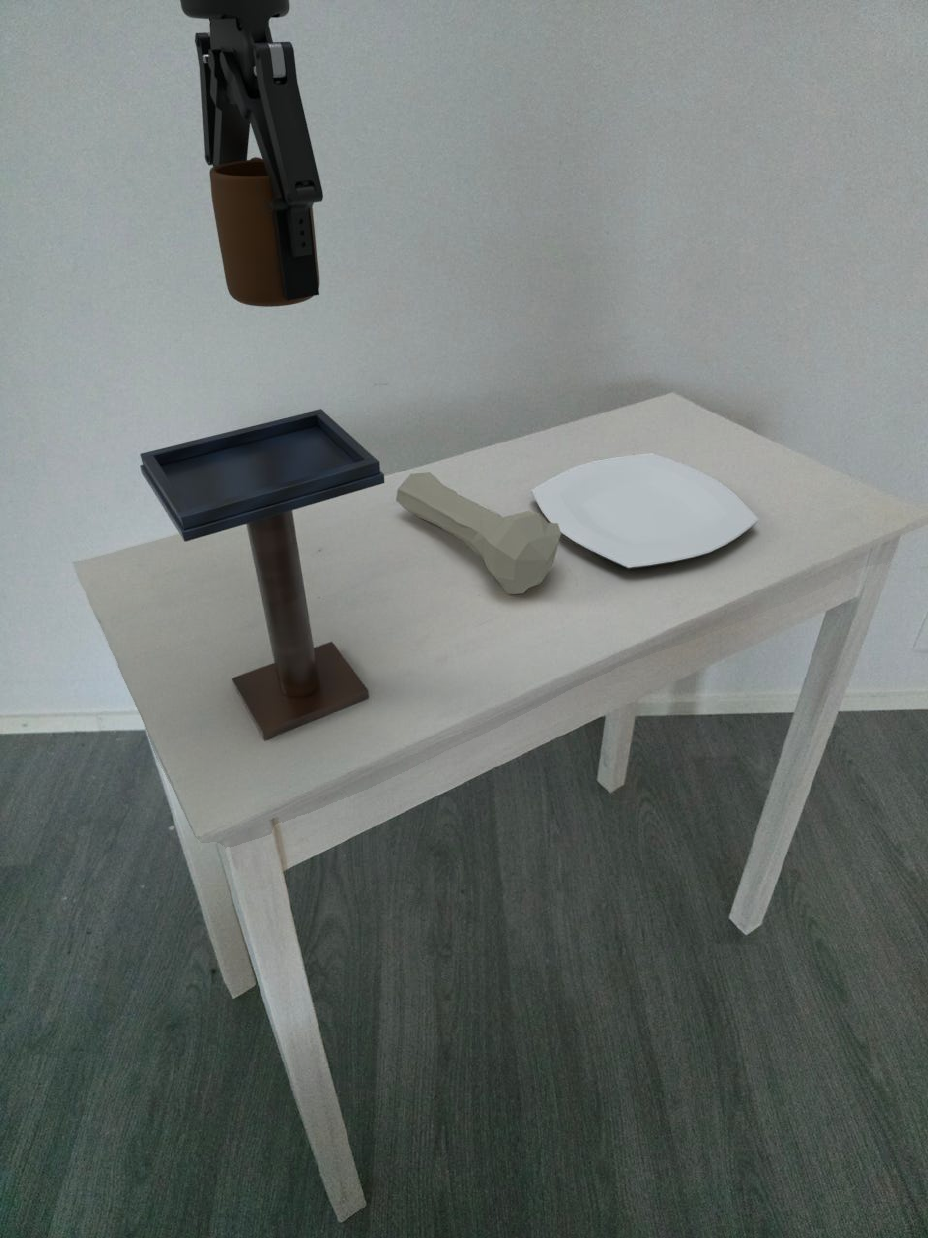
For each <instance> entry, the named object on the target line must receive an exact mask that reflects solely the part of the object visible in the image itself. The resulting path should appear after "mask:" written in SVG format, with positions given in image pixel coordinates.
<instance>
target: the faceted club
mask: <svg viewBox="0 0 928 1238" xmlns="http://www.w3.org/2000/svg"><path fill="white" fill-rule="evenodd" d="M396 502H397V503H398V504H399V505H401V506H402V508H403V509H405V510H407V511H408V512H410V513H411V514H412V515H414V516H415V517H417V518H419V519H422V520H425V521H426V522H429V523H430V524H431V523H432V524H434V525H435V526H437V527H439V528H440V529H442V530H444V531H446V532H448V533H449V534H451V535H452V536H454V537H456V538H457V539H459V540H461V541H462V542H463V543H464V544H466V546H468V547H469V548H470V549H471V550H473V551H474V552H475V553H476V554H477V555H479V557H481V559H483V560H484V562H485V565H486V568H487V569H488V571H489V572H490V574H491V575H492V576H493V578H495V580H497V582H498V584H499V586H500V587H501V588H502V589H503V590H504V592H505V593H506V594H507V595H517V594H523V593H525V592H526V591H527V590H528V589H530V588H532V587H535V586H538V585H540V584H541V583H542V582H543V580H544V579H545V577H546V576H547V575H548V573H549V572H550V570H551V569H552V567H553V566H554V561H555V558H556V554H557V551H558V547H559V543H560V539H561V537H562V536H561V535H562V533H561V531H560V528H559V526H558V523H550V522H549V521H548V520H547V519H546V518H545V517H543V515H542V514H541V513H539V512H535V511H523V512H518V513H514V514H510V515H505V516H502V515H500V514H498V513H496V512H494V511H492V510H491V509H488V508H486V507H485V506H483V505H481V504H479V503H476V502H475V501H473V500H471V499H469V498H467V497H465V496H463V495H461V494H459V493H458V492H457V491H456V490H454V489H451V488H450V487H447V486H445V485H444V484H443V483H442V482H441V481H440V480H439V479H438V477H436V476H435V475H434V474H433V473H432V472H431V471H427V472H425V471H424V472H416V473H415V472H414V473H410V474H409V475H408V476H407V477H406V479H405V480H404V481H403V482H402V483H401V484H400V486H399V487H398V488H397V490H396Z"/></svg>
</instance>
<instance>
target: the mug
mask: <svg viewBox="0 0 928 1238" xmlns="http://www.w3.org/2000/svg"><path fill="white" fill-rule="evenodd" d="M208 173H209V174H208V175H209V181H210V182H209V183H210V193H211V195H210V196H211V203H212V209H213V215H214V221H215V227H216V232H217V238H218V244H219V249H220V255H221V260H222V266H223V267H222V268H223V273H224V278H225V283H226V288H227V290H228V293H229V295H230V296H231V297H232V299H234V300H235V301H236V302H238V303H240V304H243V305H246V306H253V307H260V308H261V307H263V308H265V307H267V308H273V307H285V306H291V305H296V304H300V303H303V302H306V301H308V300H311V299H312V298H313V297H314V296H310V297H304V298H299V299H293V300H286V299H285V298H284V295H283V288H282V280H281V272H280V264H279V257H278V249H277V241H276V234H275V226H274V218H273V212H271V211H270V210H269V208H268V206H269V204H270V201H272V200H271V199H274V198H275V196H274V193H273V190H272V187H271V184H270V179H269V177H268V175H267V172H266V169H265V165H264V162H263V159H262V157H257V156H254V157H251V158H250V159H247V160H243V161H235V162H229V163H224V164H220V165H217V166H214V167H213V166H212V167H211V168H210V169H209V172H208ZM310 212H311V221H312V231H313V241H314V250H315V260H316V269H317V279H318V289H319V290H320V270H319V260H318V250H317V248H318V247H317V236H316V226H315V217H314V205H313V206H312V207H310Z"/></svg>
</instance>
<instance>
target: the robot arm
mask: <svg viewBox="0 0 928 1238" xmlns="http://www.w3.org/2000/svg"><path fill="white" fill-rule="evenodd" d="M179 2H180V8H181V11H182V12H183V14H184V15H185V16H186V17H188V18H191V19H197V20H198V19H200V20H208V21H209V23H208V25H209V27H208V28H209V31H207V32H205V31H204V32H203V31H202V32H195V34H194V44H195V47H196V53H197V59H198V66H199V80H200V81H199V82H200V97H201V100H200V101H201V115H202V130H203V147H204V148H203V150H204V160H205V162H206V164H207V165H208V166H212V167H214V166H217V165H220V164H224V163H229V162H235V161H243V160H248V153H249V151H248V150H249V143H250V142H249V140H250V130H251V129H252V132H253V135H254V137H255V141H256V144H257V147H258V151H259V153H260V156H261V159H263V162H264V165H265V169H266V172H267V175H268V177H269V179H270V184H271V187H272V190H273V193H274V196H275V198H274V199H271V200H272V201H270V204H269V206H268V208H269V210H270V211H271V212H273V218H274V226H275V234H276V241H277V249H278V257H279V264H280V272H281V280H282V288H283V295H284V298H285V299H286V300H293V299H299V298H304V297H310V296H313V297H317V296H319V295H320V291H319V290H320V288H319V289H318V279H317V269H316V260H315V250H314V241H313V231H312V221H311V212H310V207H312V206H313V207H314V204H315V203H319V202H320V203H321V202H322V201H323V199H324V194H323V193H324V192H323V188H322V184H321V179H320V175H319V170H318V167H317V166H318V165H317V162H316V158H315V153H314V149H313V145H312V144H313V143H312V141H311V140H312V139H311V135H310V132H309V131H310V130H309V127H308V122H307V119H306V115H305V109H304V104H303V100H302V97H301V92H300V88H299V83H298V77H297V67H296V58H295V50H294V47H293V43H292V42H291V41H273V37H272V32H271V28H270V19H273V18H274V19H276V18H284V17H286V16H287V15H288V14H289V12H290V8H291V7H290V6H291V5H290V0H179Z"/></svg>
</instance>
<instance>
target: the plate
mask: <svg viewBox="0 0 928 1238" xmlns="http://www.w3.org/2000/svg"><path fill="white" fill-rule="evenodd" d="M530 493H531V494H532V496H533V498H534V500H535V502H536V504H537V505H538V507H539V509H540V510H541V512H542V514H543V515H544V516H545V517H546V518H545V519H546V520H547V521H548V523H558V526H559V528H560V531H561V535H563V536H564V537H565V538H567V539H568V540H569V541H571V542H573V543H575V544H576V545H578V546H579V547H582V548H583V549H585V550H587V551H588V552H590V553H593V554H594V555H597V556H599V557H601V558H602V559H603V558H604V559H605V560H607V561H610V562H612V563H614V564H617V565H619V566H620V567H623V568H625V569H628V570H631V569H639V568H647V567H655V566H659V565H666V564H672V563H678V562H683V561H686V560H692V559H695V558H698V557H702V556H706V555H709V554H711V553H713V552H715V551H717V550H719V549H722V548H724V547H726V546H727V545H729V544H731V542H733V541H735V540H736V539H738V538H739V537H740V536H742V535H743V534H745V533H746V532H747V531H749V530H750V529H751V528H752V527H754V526H755V525H756V524H757V523H758V522H759V521H760V519H759V517H757V515H755V513H754V512H753V511H752V510H751V509H750V508H749V507H748V506H747V504H746V503H744V501H743V500H741V499H740V497H739V496H738V495H737V494H735V493H734V492H733V491H732V490H730V489H729V488H728V487H727V486H725V484H723V483H721V482H720V481H718V480H717V479H716V478H714V477H712V476H710V475H708V474H706V473H705V472H702V471H701V470H698V469H696V468H693V467H691V466H689V465H686V464H684V463H681V462H678V461H676V460H673V459H671V458H667V457H666V456H662V455H659V454H656V453H654V452H649V453H648V452H647V453H640V454H629V455H622V456H616V457H610V458H604V459H598V460H594V461H589V462H585V463H582V464H579V465H577V466H574V467H571V468H569V469H567V470H565V471H563V472H561V473H558V474H557V475H554V476H553V477H551V478H549V479H548V480H545V481H543V482H542V483H540V484H539V485H537V486H535V487H533V488H532V489H530Z"/></svg>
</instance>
